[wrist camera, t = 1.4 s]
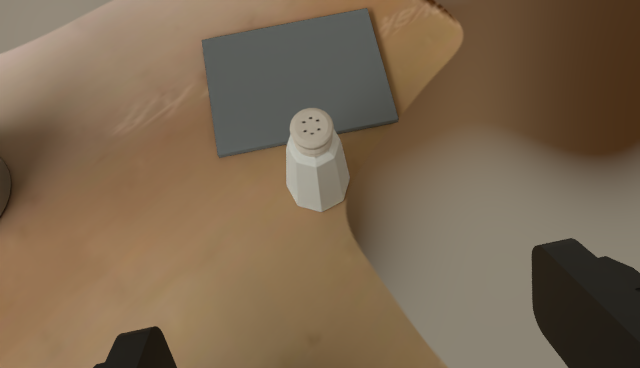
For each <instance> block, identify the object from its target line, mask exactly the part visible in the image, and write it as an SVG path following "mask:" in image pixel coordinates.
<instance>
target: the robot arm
mask: <svg viewBox="0 0 640 368" xmlns="http://www.w3.org/2000/svg"><path fill="white" fill-rule="evenodd" d="M10 188H11V180H10V174H9V171H8V168H7V166H6V164H5V163H4V161H3V160H2V159H1V158H0V216H1V214H2V212H3V210H4V209H5V207H6V205H7V202H8V199H9V196H10ZM532 300H533V311H534V315H535V318H536V321H537V323H538V326H539V328H540V330H541V332H542V333H543V335H544V336H545V337H546V339H547V340H548V341H549V343H550V344H551V345H552V347H553V348H554V349H555V351H556V352H557V353H558V355H559V356H560V357H561V358H562V360H563V361H564V362H565V364H566V365H567V366H568V368H640V273H639V272H638V271H636V270H635V269H634V268H632V267H630V266H627V265H625V264H623V263H620V262H618V261H616V260H613V259H611V258H609V257H606V256H605V257H600V258H597V257H596V256H595V255H593V254H592V253H591V252H590V251H588V250H587V249H586V248H585V247H584V246H583V245H582V244H580V243H579V242H578V241H576V240H575V239H572V238H570V239H566V240H560V241H556V242H552V243H546V244H542V245H537V246H535V247H534V248H533V250H532ZM93 368H177V366H176V364H175V362H174V359H173V357H172V354H171V352H170V350H169V347H168V345H167V342H166V340H165V337H164V335H163V333H162V331H161V330H160V329H159V328H158V327H156V326H154V327H150V328H145V329H141V330H136V331H131V332H127V333H122V334H120V335H118V336H117V338H116V340H115V342H114V344H113V346H112V348H111V350H110V353H109V355H108V357H107V359H106V361H105V363H100V364H96V365H95V366H94V367H93Z"/></svg>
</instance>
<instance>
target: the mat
mask: <svg viewBox="0 0 640 368" xmlns="http://www.w3.org/2000/svg"><path fill="white" fill-rule="evenodd" d="M202 47H203V54H204V61H205V68H206V75H207V82H208V89H209V96H210V103H211V111H212V118H213V125H214V132H215V139H216V146H217V153H218V156H219V158H221V157H226V156H231V155H236V154H241V153H246V152H251V151H256V150H261V149H266V148H271V147H276V146H281V145H286V144H287V143H288V140H289V137H290V134H291V133H290V123H291V120H292V118H293V117H294V116H295V115H296V114H297V113H298V112H299V111H301V110H303V109H307V108H318V109H321V110H323V111H325V112H326V113H327V114H328V115H329V116H330V117H331V119H332V121H333V125H334V130H335V132H336V133H337V134H341V133H346V132H351V131H356V130H361V129H366V128H371V127H376V126H381V125H386V124H391V123H396V122H398V115H397V112H396V108H395V105H394V101H393V98H392V94H391V91H390V87H389V83H388V80H387V76H386V73H385V69H384V66H383V62H382V59H381V55H380V52H379V48H378V45H377V41H376V38H375V34H374V31H373V27H372V24H371V20H370V17H369V13H368V10H367V8H365V9H360V10H355V11H350V12H344V13H339V14H334V15H329V16H324V17H319V18H313V19H308V20H303V21H298V22H293V23H287V24H282V25H277V26H272V27H267V28H262V29H256V30H251V31H246V32H241V33H236V34H231V35H225V36H220V37H215V38H210V39H205V40H202Z"/></svg>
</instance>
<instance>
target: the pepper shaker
mask: <svg viewBox="0 0 640 368" xmlns="http://www.w3.org/2000/svg"><path fill="white" fill-rule="evenodd" d="M290 133H291V134H290V137H289V140H288V143H287V148H286V185H287V187H288V189H289V191H290V193H291V194H292V196H293V198H294V200H295V201H296V203H297V205H298V206H300V207H304V208H308V209H311V210H315V211H319V212H323V211H325V210H327V209H329V208H331V207H333V206H334V205H336V204H338V203H340V202H342V201H344V197H345V194H346V190H347V187H348V183H349V180H350V176H349V172H348V168H347V163H346V159H345V155H344V151H343V147H342V143H341V140H340V138H339V137H338V135H337V133H336V132H335V130H334V125H333V121H332V119H331V117H330V116H329V115H328V114H327V113H326V112H325V111H323V110H321V109H318V108H307V109H303V110H301V111H299V112H298V113H297V114H296V115H295V116H294V117H293V118H292V120H291V123H290Z"/></svg>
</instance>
